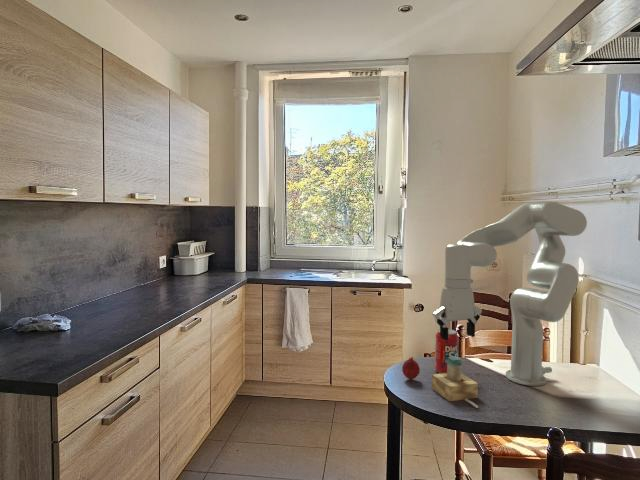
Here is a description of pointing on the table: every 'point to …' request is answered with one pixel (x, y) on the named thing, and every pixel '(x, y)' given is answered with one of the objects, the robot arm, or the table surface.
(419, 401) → the table surface
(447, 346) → the soda can
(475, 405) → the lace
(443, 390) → the wooden block
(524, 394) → the table surface
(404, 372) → the onion
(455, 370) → the green capped spice bottle
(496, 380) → the table surface
